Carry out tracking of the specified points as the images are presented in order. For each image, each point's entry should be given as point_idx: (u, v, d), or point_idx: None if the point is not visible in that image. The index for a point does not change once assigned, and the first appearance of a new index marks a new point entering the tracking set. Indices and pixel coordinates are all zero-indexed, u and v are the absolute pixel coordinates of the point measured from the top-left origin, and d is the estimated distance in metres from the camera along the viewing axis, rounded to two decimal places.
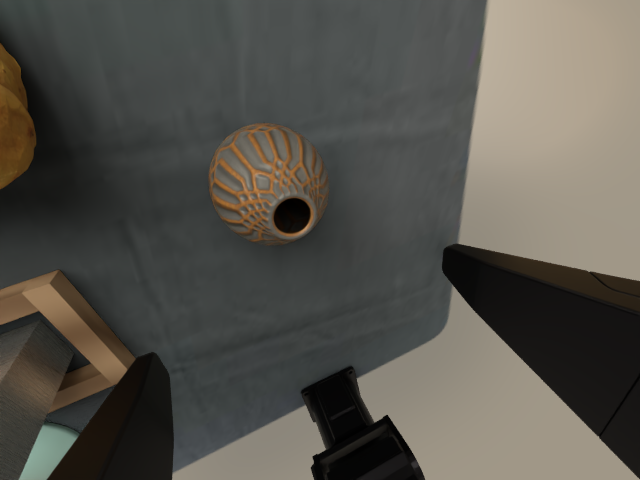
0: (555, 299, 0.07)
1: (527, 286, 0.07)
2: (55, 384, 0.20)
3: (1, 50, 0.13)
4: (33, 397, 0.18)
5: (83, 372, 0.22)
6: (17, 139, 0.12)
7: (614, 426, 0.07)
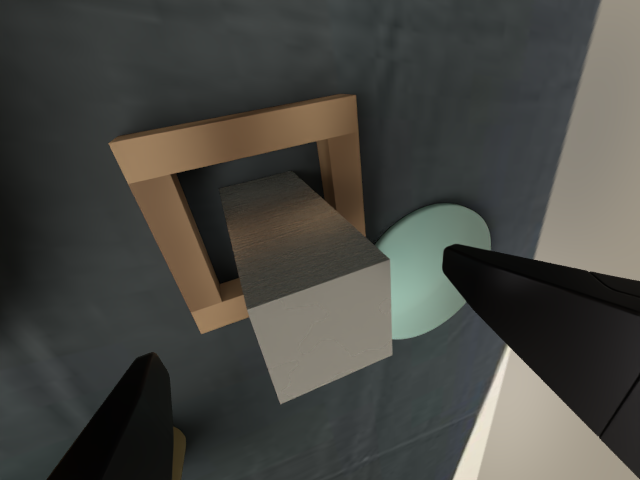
0: (555, 299, 0.07)
1: (527, 286, 0.07)
2: (303, 190, 0.12)
3: None
4: (289, 211, 0.11)
5: (324, 167, 0.15)
6: None
7: (614, 426, 0.07)
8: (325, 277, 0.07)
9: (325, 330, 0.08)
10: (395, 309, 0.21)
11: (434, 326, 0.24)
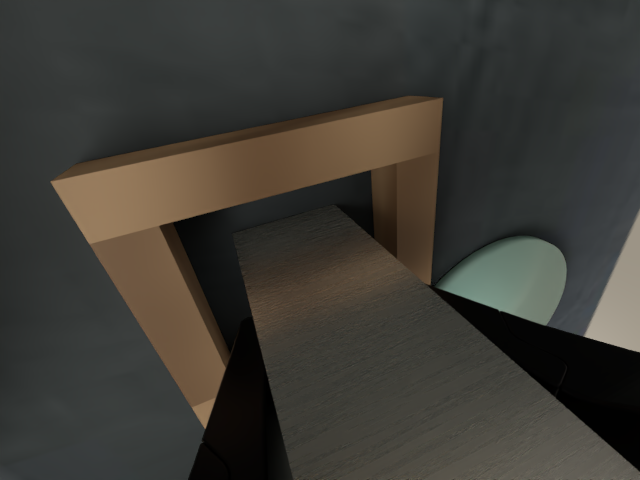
0: None
1: None
2: (366, 246, 0.08)
3: None
4: (358, 296, 0.06)
5: (381, 200, 0.10)
6: None
7: None
8: None
9: None
10: None
11: None
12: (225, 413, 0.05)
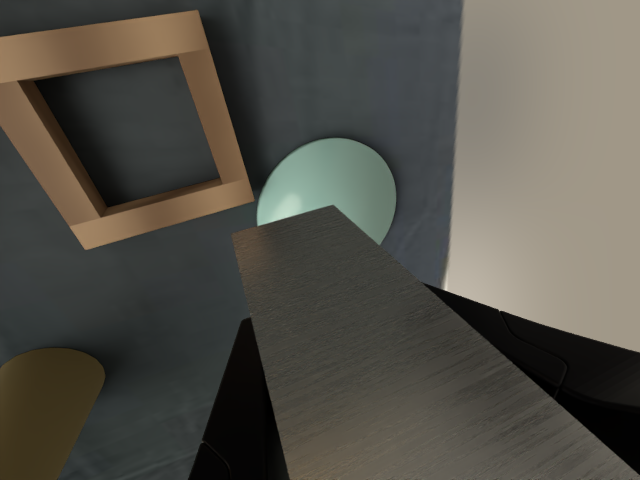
0: None
1: None
2: (365, 247, 0.08)
3: None
4: (356, 296, 0.06)
5: None
6: None
7: None
8: None
9: None
10: None
11: None
12: (225, 413, 0.05)
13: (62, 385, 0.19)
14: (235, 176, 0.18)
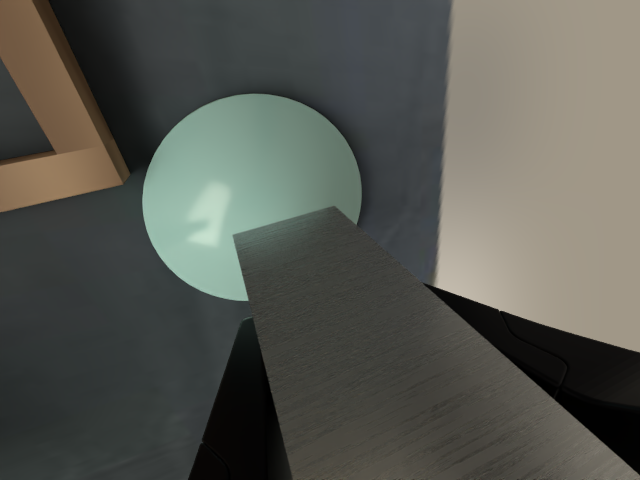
0: None
1: None
2: (366, 248, 0.08)
3: None
4: (358, 298, 0.06)
5: None
6: None
7: None
8: None
9: None
10: (222, 255, 0.16)
11: None
12: (225, 413, 0.05)
13: None
14: (79, 141, 0.11)
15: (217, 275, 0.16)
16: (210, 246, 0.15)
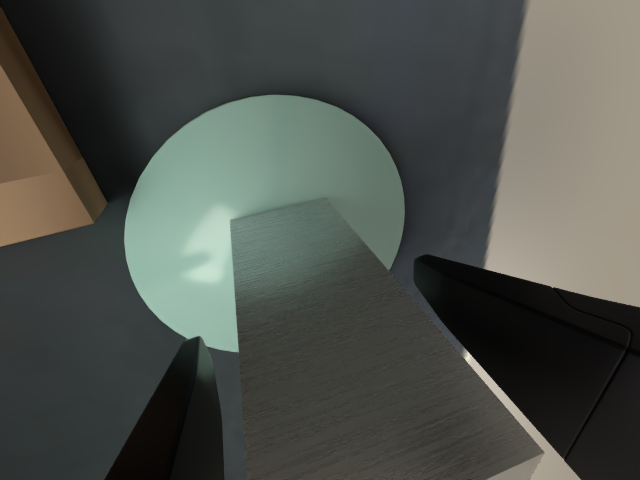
0: (518, 316, 0.07)
1: (490, 302, 0.07)
2: (346, 237, 0.09)
3: None
4: (328, 278, 0.07)
5: None
6: None
7: (577, 449, 0.06)
8: None
9: None
10: (230, 302, 0.12)
11: None
12: (134, 452, 0.05)
13: None
14: (24, 165, 0.07)
15: (223, 325, 0.13)
16: (215, 291, 0.12)
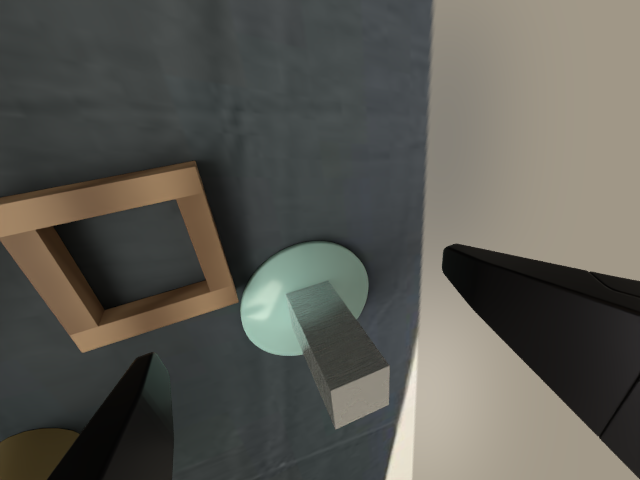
0: (555, 299, 0.07)
1: (527, 286, 0.07)
2: (339, 304, 0.22)
3: None
4: (335, 323, 0.20)
5: None
6: None
7: (614, 426, 0.07)
8: (361, 374, 0.16)
9: (359, 396, 0.17)
10: (281, 330, 0.25)
11: None
12: None
13: (51, 469, 0.20)
14: (222, 284, 0.20)
15: (276, 341, 0.25)
16: (275, 325, 0.24)
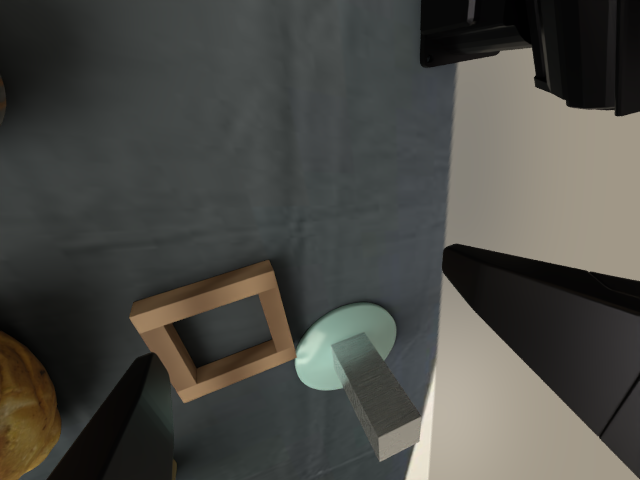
0: (555, 299, 0.07)
1: (527, 286, 0.07)
2: (376, 356, 0.27)
3: None
4: (375, 375, 0.25)
5: None
6: None
7: (614, 426, 0.07)
8: (400, 424, 0.22)
9: (398, 438, 0.22)
10: (325, 371, 0.30)
11: None
12: None
13: None
14: (285, 346, 0.25)
15: (321, 380, 0.31)
16: (321, 368, 0.30)
